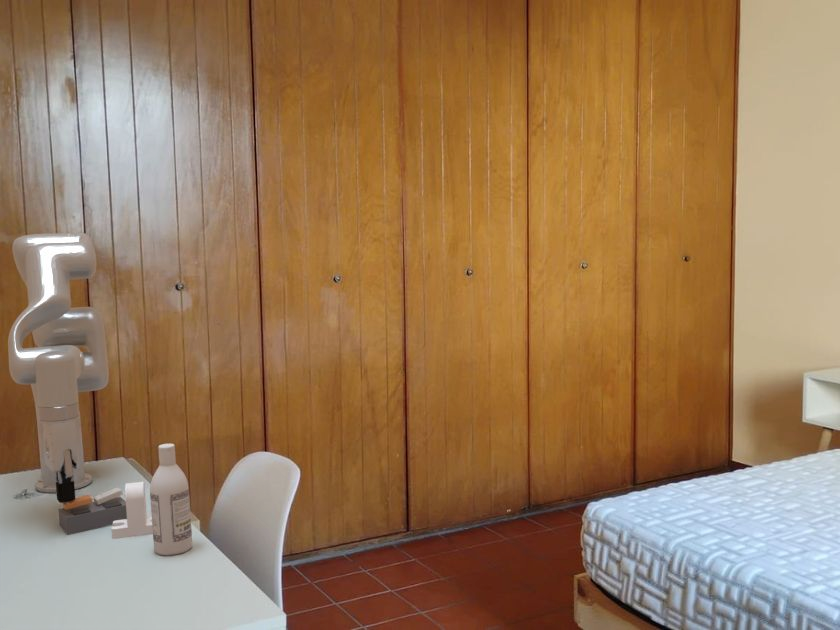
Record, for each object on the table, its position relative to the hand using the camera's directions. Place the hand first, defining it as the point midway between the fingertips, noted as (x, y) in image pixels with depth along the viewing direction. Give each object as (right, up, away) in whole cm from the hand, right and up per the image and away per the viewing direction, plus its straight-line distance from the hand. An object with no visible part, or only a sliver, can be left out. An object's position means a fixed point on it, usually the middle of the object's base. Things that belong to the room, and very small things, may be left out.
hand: (66, 500), depth 172 cm
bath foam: (+26, -6, -14) cm, 30 cm away
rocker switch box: (+4, -5, +3) cm, 7 cm away
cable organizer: (+16, -6, -3) cm, 17 cm away
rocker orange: (+2, -1, +1) cm, 2 cm away
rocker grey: (+7, 0, +4) cm, 8 cm away
